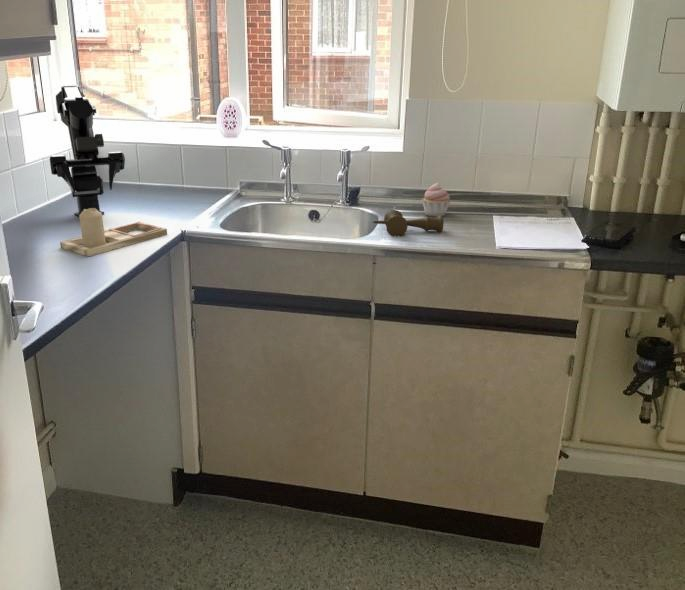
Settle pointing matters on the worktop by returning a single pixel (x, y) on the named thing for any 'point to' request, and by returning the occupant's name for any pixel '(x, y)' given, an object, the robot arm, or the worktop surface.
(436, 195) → the cupcake
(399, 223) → the kendama
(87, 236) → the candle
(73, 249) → the rail frame
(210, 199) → the worktop surface
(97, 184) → the robot arm
